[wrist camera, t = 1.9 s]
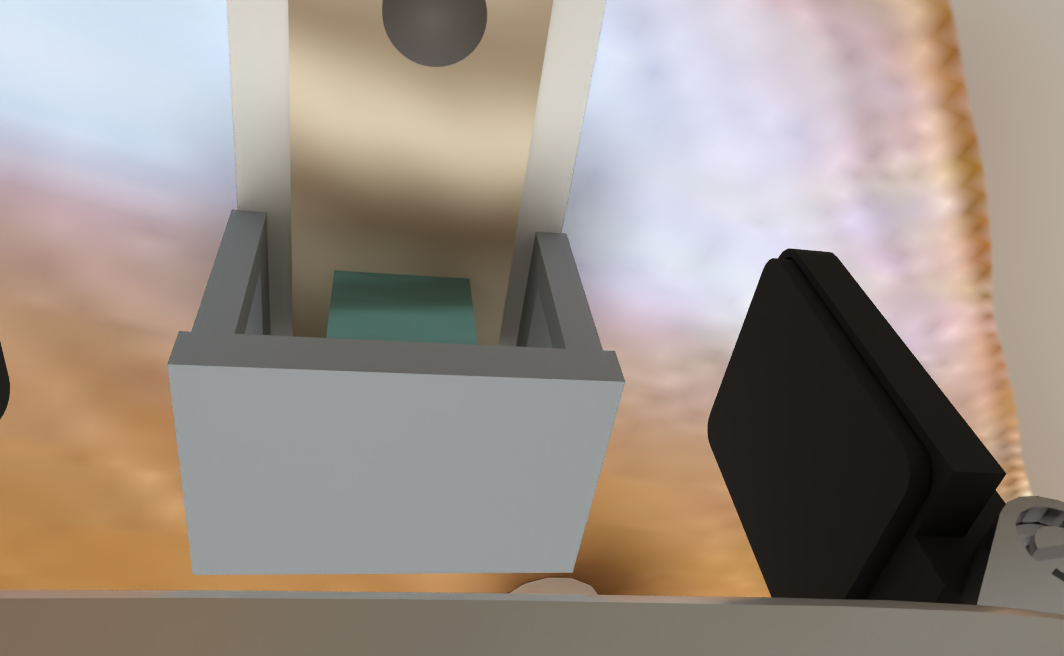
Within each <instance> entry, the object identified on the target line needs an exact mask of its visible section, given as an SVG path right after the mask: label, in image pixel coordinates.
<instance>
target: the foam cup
mask: <svg viewBox="0 0 1064 656" xmlns="http://www.w3.org/2000/svg"><path fill="white" fill-rule="evenodd" d="M509 594H579V595H598V594H597V593H596V591H595V590H594V589H593V588H592V586H591V585H588V584H586V583H583V582H581V581H578V580H575V579H573V578H544V579H541V580H537V581H533V582H529V583H525V584H523V585H521V586H520V587H518V588H517V589H515V590H513V591H512V592H510V593H509Z"/></svg>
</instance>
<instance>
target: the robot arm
mask: <svg viewBox="0 0 1064 656" xmlns="http://www.w3.org/2000/svg"><path fill="white" fill-rule="evenodd" d="M9 394H10V382H9V376H8V372H7V368H6V364H5V360H4V355H3V351H2V347H1V343H0V419H1V417H2V416H3V414H4V412H5V410H6V408H7V404H8V401H9ZM708 439H709V443H710V446H711V448H712V451H713V453H714V456H715V458H716V461H717V463H718V466H719V468H720V471H721V473H722V476H723V478H724V481H725V483H726V486H727V488H728V490H729V493H730V495H731V498H732V500H733V503H734V505H735V508H736V510H737V513H738V515H739V518H740V520H741V523H742V525H743V528H744V530H745V533H746V535H747V537H748V540H749V542H750V545H751V547H752V550H753V552H754V555H755V557H756V560H757V562H758V565H759V567H760V570H761V572H762V575H763V577H764V580H765V582H766V585H767V587H768V589H769V592H770V594H771V597H772V598H767V597H704V596H641V595H579V594H501V593H413V592H310V591H183V590H0V656H1064V502H1062V501H1059V500H1054V499H1049V498H1044V497H1039V496H1027V497H1018V498H1016V499H1014V500H1011V501H1009V502H1007V503H1005V502H1004V501H1003V499H1002V498H1001V497H1000V495H999V494H998V493H997V491H996V488H997V487H998V485H999V484H1000V482H1001V481H1002V479H1003V478H1004V476H1005V475H1006V473H1005V471H1004V470H1003V469H1002V468H1001V466H1000V465H999V464H998V462H997V461H996V460H995V459H994V457H993V456H992V455H991V453H990V452H989V451H988V450H987V448H986V447H985V446H984V445H983V443H982V442H981V441H980V439H979V438H978V437H977V436H976V434H975V433H974V432H973V430H972V429H971V428H970V427H969V425H968V424H967V423H966V421H965V420H964V419H963V418H962V416H961V415H960V414H959V413H958V411H957V410H956V409H955V407H954V406H953V405H952V404H951V402H950V401H949V400H948V398H947V397H946V396H945V395H944V393H943V392H942V391H941V389H940V388H939V387H938V386H937V384H936V383H935V382H934V381H933V379H932V378H931V377H930V375H929V374H928V373H927V372H926V370H925V369H924V368H923V366H922V365H921V364H920V363H919V361H918V360H917V359H916V357H915V356H914V355H913V354H912V352H911V351H910V350H909V348H908V347H907V346H906V345H905V343H904V342H903V341H902V340H901V338H900V337H899V336H898V334H897V333H896V332H895V331H894V329H893V328H892V327H891V325H890V324H889V323H888V322H887V320H886V319H885V318H884V316H883V315H882V314H881V313H880V311H879V310H878V309H877V308H876V306H875V305H874V304H873V302H872V301H871V300H870V299H869V297H868V296H867V295H866V293H865V292H864V291H863V290H862V288H861V287H860V286H859V284H858V283H857V282H856V281H855V279H854V278H853V277H852V276H851V274H850V273H849V272H848V270H847V269H846V268H845V267H844V265H843V264H842V263H841V261H840V260H839V259H838V258H837V256H835V255H834V254H833V253H831V252H822V251H811V250H800V249H787V250H785V251H783V252H782V254H781V255H780V256H779V258H778V259H776V258H772V259H770V260H769V261H768V262H767V263H766V265H765V267H764V269H763V272H762V274H761V277H760V280H759V282H758V285H757V288H756V291H755V293H754V296H753V299H752V301H751V304H750V307H749V310H748V312H747V315H746V318H745V320H744V323H743V326H742V329H741V331H740V334H739V337H738V339H737V342H736V345H735V348H734V350H733V353H732V356H731V359H730V361H729V364H728V367H727V369H726V372H725V375H724V378H723V380H722V383H721V386H720V388H719V391H718V394H717V397H716V399H715V402H714V405H713V407H712V410H711V413H710V416H709V420H708Z"/></svg>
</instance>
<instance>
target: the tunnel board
mask: <svg viewBox="0 0 1064 656" xmlns="http://www.w3.org/2000/svg"><path fill="white" fill-rule="evenodd" d="M605 5H606V0H553V6H552V12H551V18H550V25H549V31H548V37H547V43H546V50H545V56H544V62H543V68H542V75H541V81H540V87H539V94H538V100H537V106H536V112H535V119H534V125H533V131H532V137H531V144H530V150H529V156H528V162H527V169H526V175H525V181H524V187H523V194H522V200H521V206H520V213H519V219H518V225H517V231H516V238H515V244H514V250H513V256H512V263H511V269H510V275H509V281H508V288H507V294H506V300H505V306H504V313H503V319H502V325H501V332H500V338H499V344H498V346H491V345H469V344H447V343H425V342H403V341H381V340H359V339H337V338H315V337H293V315H292V242H291V170H290V97H289V24H288V0H227V19H228V37H229V56H230V74H231V93H232V111H233V130H234V148H235V167H236V185H237V204H238V210H232V211H231V214H230V217H229V220H228V223H227V226H226V229H225V232H224V235H223V238H222V241H221V244H220V247H219V250H218V253H217V256H216V259H215V262H214V265H213V268H212V271H211V274H210V277H209V280H208V283H207V286H206V289H205V292H204V295H203V298H202V301H201V304H200V307H199V310H198V313H197V316H196V319H195V322H194V325H193V328H192V331H191V332H183V331H179V333H178V336H177V339H176V341H175V344H174V347H173V350H172V353H171V356H170V358H169V361H168V364H167V365H168V373H169V382H170V390H171V398H172V406H173V415H174V423H175V431H176V439H177V447H178V456H179V464H180V472H181V480H182V488H183V497H184V505H185V513H186V521H187V530H188V538H189V546H190V554H191V562H192V571H193V575H237V574H410V573H573V569H574V566H575V562H576V559H577V555H578V551H579V548H580V544H581V540H582V537H583V533H584V530H585V526H586V522H587V519H588V515H589V511H590V508H591V504H592V500H593V497H594V493H595V490H596V486H597V482H598V479H599V475H600V471H601V468H602V464H603V460H604V457H605V453H606V450H607V446H608V442H609V439H610V435H611V431H612V428H613V424H614V421H615V417H616V413H617V410H618V406H619V402H620V399H621V395H622V391H623V388H624V384H625V380H624V377H623V374H622V371H621V368H620V365H619V362H618V359H617V356H616V353H615V351H603V349H602V346H601V343H600V340H599V337H598V334H597V330H596V327H595V324H594V321H593V318H592V314H591V311H590V308H589V305H588V302H587V299H586V295H585V292H584V289H583V286H582V283H581V279H580V276H579V273H578V270H577V267H576V264H575V260H574V257H573V254H572V251H571V248H570V245H569V241H568V238H567V235H566V234H563V233H561V231H562V226H563V221H564V216H565V211H566V206H567V200H568V195H569V190H570V185H571V180H572V175H573V170H574V164H575V159H576V154H577V149H578V144H579V139H580V134H581V128H582V123H583V118H584V113H585V108H586V103H587V98H588V92H589V87H590V82H591V77H592V72H593V67H594V61H595V56H596V51H597V46H598V41H599V36H600V31H601V25H602V20H603V15H604V10H605Z"/></svg>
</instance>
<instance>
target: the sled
mask: <svg viewBox="0 0 1064 656" xmlns="http://www.w3.org/2000/svg"><path fill="white" fill-rule="evenodd" d="M552 6H553V0H288V24H289V97H290V170H291V242H292V315H293V337H315V338H337V339H359V340H381V341H403V342H425V343H447V344H469V345H491V346H498V344H499V338H500V332H501V325H502V319H503V313H504V306H505V300H506V294H507V288H508V281H509V275H510V269H511V263H512V256H513V250H514V244H515V238H516V231H517V225H518V219H519V213H520V206H521V200H522V194H523V187H524V181H525V175H526V169H527V162H528V156H529V150H530V144H531V137H532V131H533V125H534V119H535V112H536V106H537V100H538V94H539V87H540V81H541V75H542V68H543V62H544V56H545V50H546V43H547V37H548V31H549V25H550V18H551V12H552Z"/></svg>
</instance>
